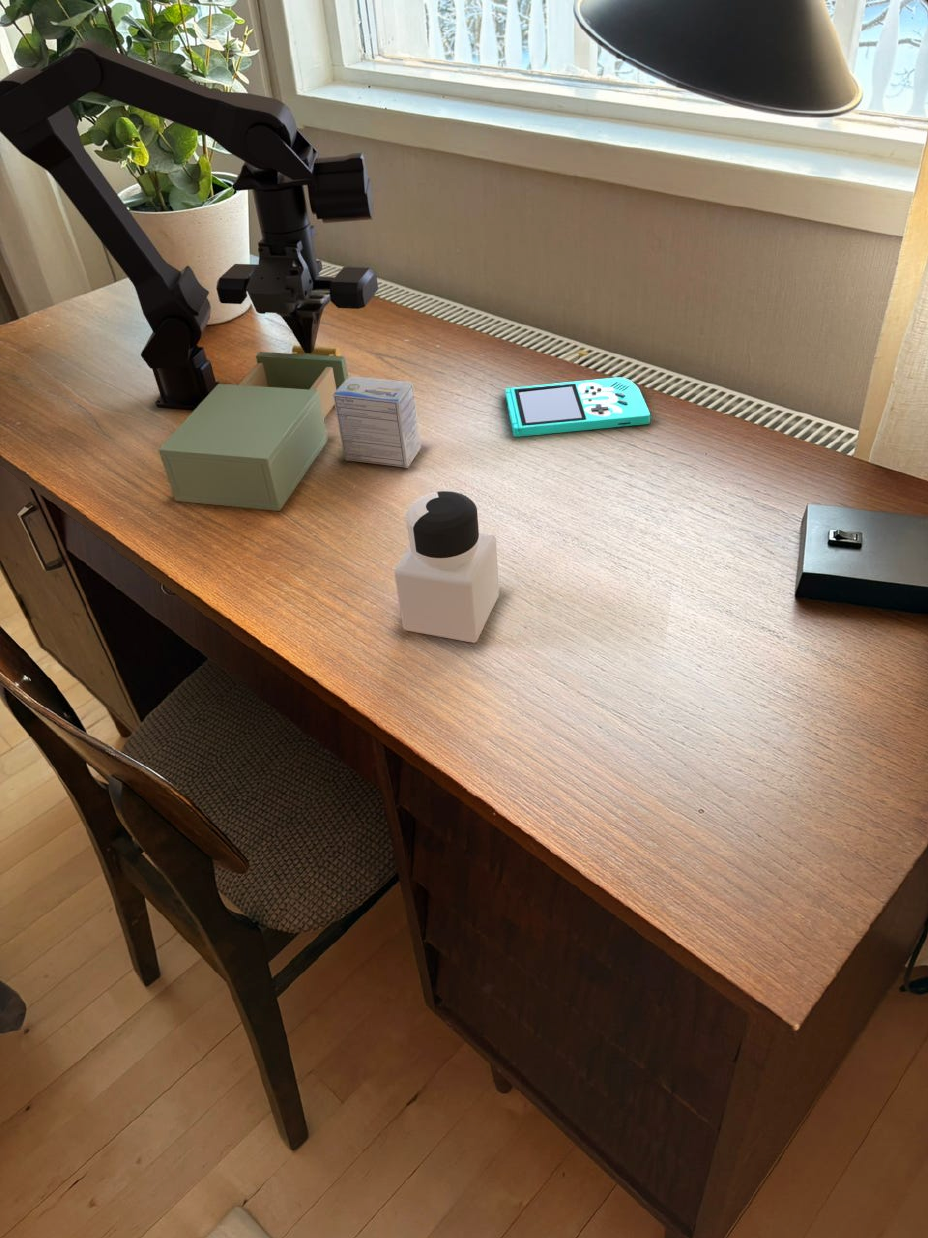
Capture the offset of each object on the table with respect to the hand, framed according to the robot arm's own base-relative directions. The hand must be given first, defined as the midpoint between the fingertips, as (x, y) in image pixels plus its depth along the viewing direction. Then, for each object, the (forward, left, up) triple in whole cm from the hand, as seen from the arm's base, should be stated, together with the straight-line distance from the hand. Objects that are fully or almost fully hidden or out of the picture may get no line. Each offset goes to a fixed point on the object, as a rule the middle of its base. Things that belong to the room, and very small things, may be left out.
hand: (309, 352), depth 118 cm
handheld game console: (+34, -1, -5) cm, 34 cm away
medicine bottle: (+29, -39, -5) cm, 49 cm away
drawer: (0, -7, -4) cm, 8 cm away
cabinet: (0, -19, -5) cm, 20 cm away
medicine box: (+14, -14, -5) cm, 21 cm away
